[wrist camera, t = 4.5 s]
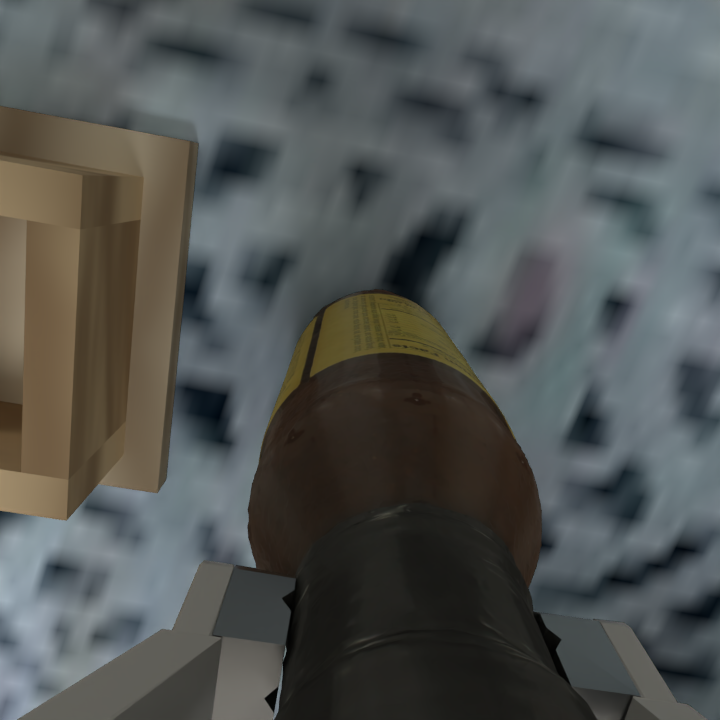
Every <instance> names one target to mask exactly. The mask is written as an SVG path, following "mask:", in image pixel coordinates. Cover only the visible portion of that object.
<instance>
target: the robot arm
mask: <svg viewBox="0 0 720 720" xmlns="http://www.w3.org/2000/svg"><path fill="white" fill-rule="evenodd" d="M296 576H297V575H291V574H285V573H280V572H274V571H268V570H262V569H256V568H251V567H245V566H239V565H236V566H234V565H233V564H226V563H220V562H213V561H206V560H204V561H203V562H202V563H201V564H200V565H199V567H198V570H197V572H196V574H195V577H194V579H193V582H192V584H191V586H190V589H189V591H188V593H187V596H186V598H185V601H184V603H183V605H182V608H181V610H180V612H179V615H178V617H177V620H176V622H175V624H174V627H173V629H172V630H166V629H162V630H160V631H158V632H157V633H155V634H154V635H152V636H150V637H149V638H147V639H146V640H144V641H142V642H141V643H139V644H138V645H136V646H134V647H133V648H131V649H130V650H128V651H126V652H125V653H123V654H122V655H120V656H118V657H117V658H115V659H114V660H112V661H110V662H109V663H107V664H105V665H104V666H102V667H101V668H99V669H97V670H96V671H94V672H93V673H91V674H89V675H88V676H86V677H85V678H83V679H81V680H80V681H78V682H77V683H75V684H73V685H72V686H70V687H69V688H67V689H65V690H64V691H62V692H61V693H59V694H57V695H56V696H54V697H53V698H51V699H49V700H48V701H46V702H45V703H43V704H41V705H40V706H38V707H37V708H35V709H33V710H32V711H30V712H29V713H27V714H25V715H24V716H22V717H21V718H19V719H17V720H273V716H274V710H275V704H276V698H277V692H278V686H279V681H280V675H281V669H282V663H283V657H284V651H285V645H286V639H287V633H288V626H289V620H290V614H291V608H292V601H293V595H294V589H295V582H296ZM533 614H534V618H535V620H536V622H537V624H538V626H539V629H540V631H541V634H542V637H543V639H544V641H545V644H546V646H547V648H548V651H549V653H550V655H551V658H552V660H553V663H554V665H555V668H556V671H557V673H558V675H559V676H561V677H562V678H563V679H564V680H565V681H566V682H567V683H568V684H569V685H570V686H571V687H572V688H573V689H574V690H575V691H576V692H577V693H578V694H579V695H580V696H581V697H582V698H583V699H584V700H585V701H586V702H587V703H588V705H589V706H590V708H591V710H592V712H593V713H594V715H595V717H596V718H597V720H708V719H706V718H705V717H704V716H702V715H701V714H700V713H698V712H697V711H696V710H694V709H693V708H692V707H690V706H689V705H688V704H682V703H678V702H677V701H676V699H675V698H674V696H673V694H672V693H671V691H670V690H669V688H668V686H667V685H666V683H665V682H664V680H663V678H662V677H661V675H660V674H659V672H658V670H657V669H656V667H655V666H654V664H653V662H652V661H651V659H650V658H649V656H648V654H647V653H646V651H645V650H644V648H643V646H642V645H641V643H640V642H639V640H638V638H637V637H636V635H635V634H634V632H633V630H632V629H631V628H630V627H629V626H628V625H626V624H625V623H624V622H615V621H607V620H598V619H593V620H590V619H583V618H576V617H569V616H562V615H555V614H548V613H540V612H533Z"/></svg>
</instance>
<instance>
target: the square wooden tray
mask: <svg viewBox="0 0 720 720" xmlns="http://www.w3.org/2000/svg"><path fill="white" fill-rule="evenodd" d="M198 144H199V143H195V142H191V141H186V140H181V139H175V138H170V137H165V136H159V135H154V134H148V133H143V132H138V131H132V130H127V129H122V128H116V127H111V126H105V125H100V124H95V123H89V122H84V121H78V120H73V119H68V118H62V117H57V116H51V115H46V114H41V113H35V112H30V111H24V110H19V109H14V108H8V107H3V106H0V511H7V512H13V513H20V514H26V515H33V516H40V517H46V518H53V519H59V520H66V521H67V519H68V518H69V517H70V516H71V515H72V514H73V513H74V511H75V510H76V509H77V508H78V507H79V506H80V504H81V503H82V502H83V501H84V500H85V499H86V498H87V496H88V495H89V494H90V493H91V492H92V491H93V489H94V488H95V487H96V486H97V485H98V484H101V485H108V486H114V487H121V488H127V489H133V490H140V491H146V492H153V493H158V491H159V490H160V488H161V487H162V485H163V484H164V482H165V481H166V476H167V465H168V455H169V444H170V434H171V424H172V413H173V403H174V393H175V382H176V372H177V362H178V351H179V341H180V330H181V320H182V310H183V299H184V289H185V279H186V268H187V258H188V248H189V237H190V227H191V217H192V206H193V196H194V185H195V175H196V165H197V154H198Z"/></svg>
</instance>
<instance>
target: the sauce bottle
mask: <svg viewBox="0 0 720 720" xmlns="http://www.w3.org/2000/svg"><path fill="white" fill-rule="evenodd" d="M248 513H249V522H248V538H249V541H250V545H251V549H252V553H253V557H254V560H255V563H256V568H257V569H262V570H268V571H274V572H280V573H285V574H291V575H297V576H296V582H295V589H294V595H293V601H292V608H291V614H290V620H289V626H288V633H287V639H286V648H287V652H286V656H285V658H284V661H283V679H282V690H281V694H280V701H279V711H278V713H277V716H276V718H275V719H274V720H597V718H596V717H595V715H594V713H593V712H592V710H591V708H590V706H589V705H588V703H587V702H586V701H585V700H584V699H583V698H582V697H581V696H580V695H579V694H578V693H577V692H576V691H575V690H574V689H573V688H572V687H571V686H570V685H569V684H568V683H567V682H566V681H565V680H564V679H563V678H562V677H561V676H559V675H558V673H557V671H556V668H555V665H554V663H553V660H552V658H551V655H550V653H549V651H548V648H547V646H546V644H545V641H544V639H543V637H542V634H541V631H540V629H539V626H538V624H537V622H536V620H535V618H534V614H533V605H532V598H531V595H530V592H529V589H528V588H529V585H530V583H531V581H532V578H533V575H534V572H535V569H536V567H537V562H538V559H539V553H540V548H541V545H542V544H541V535H542V510H541V504H540V499H539V495H538V489H537V484H536V481H535V478H534V475H533V472H532V469H531V467H530V466H529V463H528V460H527V459H526V457H525V454H524V453H523V451H522V450H521V447H520V446H519V445H518V443H517V441H516V439H515V437H514V434H513V432H512V430H511V428H510V426H509V425H508V423H507V421H506V419H505V417H504V415H503V414H502V412H501V411H500V409H499V407H498V406H497V404H496V403H495V401H494V400H493V399H492V397H491V396H490V394H489V393H488V392H487V390H486V389H485V388H484V386H483V385H482V383H481V382H480V381H479V379H478V378H477V376H476V375H475V374H474V372H473V371H472V369H471V368H470V366H469V364H468V363H467V361H466V360H465V359H464V357H463V356H462V354H461V353H460V351H459V350H458V349H457V347H456V346H455V344H454V343H453V342H452V340H451V339H450V337H449V336H448V335H447V333H446V332H445V330H444V329H443V328H442V326H441V325H440V324H439V322H438V321H437V320H436V319H435V318H434V317H433V316H432V315H431V314H430V313H428V312H427V311H426V310H424V309H423V308H422V307H420V306H419V305H418V304H417V303H414V302H412V301H411V300H409V299H406V298H404V297H403V296H400V295H397V294H394V293H392V292H389V291H386V290H379V289H374V290H370V291H361V292H357V293H353V294H350V295H348V296H345V297H343V298H340V299H338V300H336V301H334V302H332V303H331V304H329V305H327V306H325V307H323V308H322V309H321V310H320V311H319V312H318V313H317V314H316V315H315V316H314V319H313V320H312V321H311V322H310V324H309V325H308V326H307V328H306V329H305V331H304V332H303V334H302V335H301V337H300V339H299V341H298V343H297V345H296V348H295V351H294V353H293V356H292V359H291V362H290V365H289V368H288V371H287V374H286V377H285V380H284V382H283V385H282V388H281V391H280V393H279V396H278V399H277V401H276V404H275V407H274V410H273V413H272V415H271V418H270V421H269V424H268V427H267V429H266V432H265V435H264V439H263V442H262V446H261V452H260V458H259V465H258V468H257V471H256V473H255V476H254V480H253V483H252V488H251V495H250V501H249V506H248Z"/></svg>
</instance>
